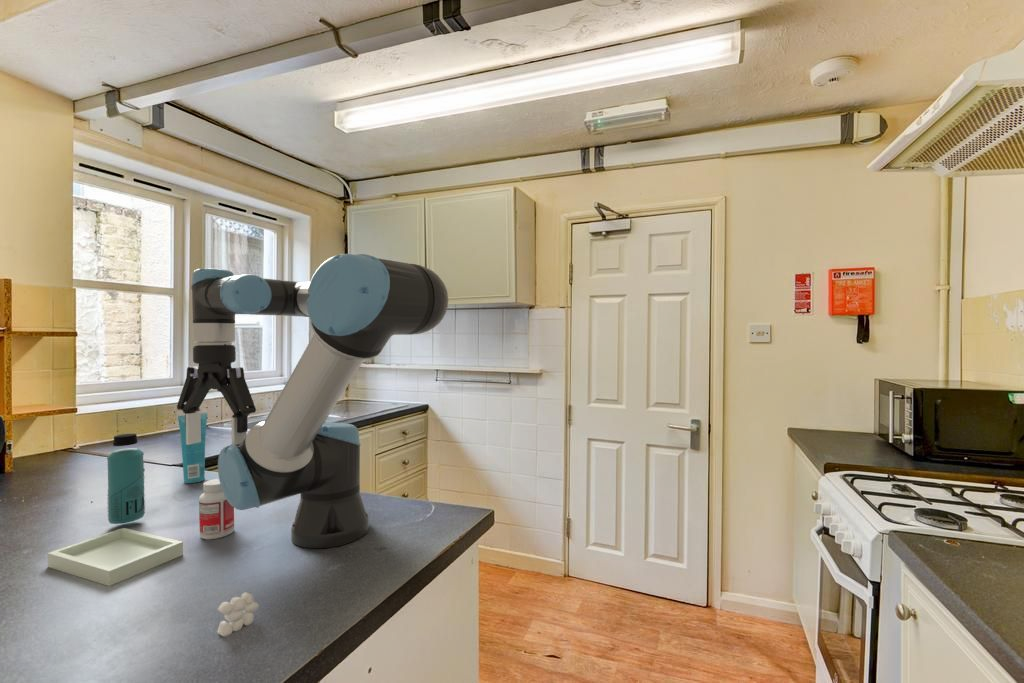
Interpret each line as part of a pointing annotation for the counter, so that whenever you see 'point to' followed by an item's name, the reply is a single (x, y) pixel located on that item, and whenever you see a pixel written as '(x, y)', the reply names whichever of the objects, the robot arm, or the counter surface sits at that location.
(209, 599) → the counter surface
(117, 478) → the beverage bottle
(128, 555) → the tray
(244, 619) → the white bumpy cluster
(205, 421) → the tube
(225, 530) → the pill bottle
